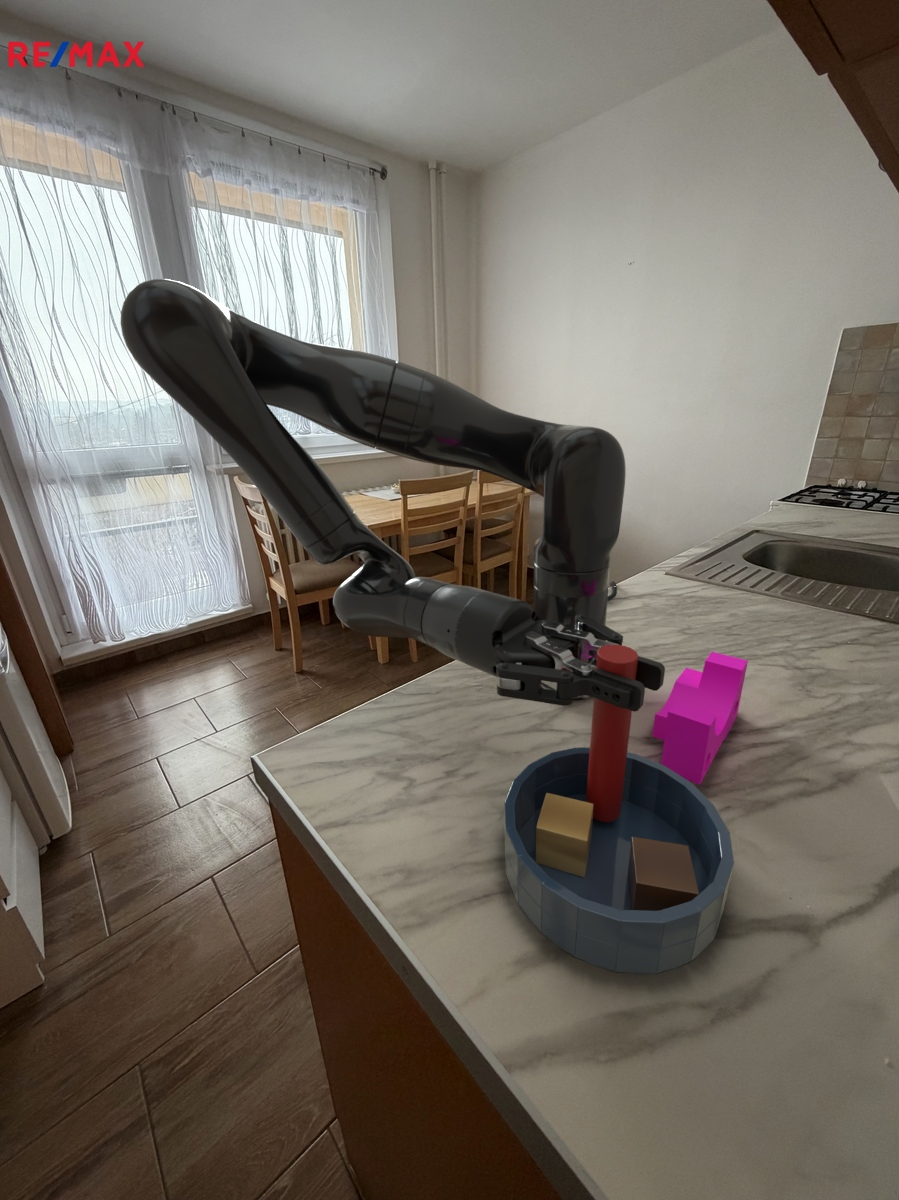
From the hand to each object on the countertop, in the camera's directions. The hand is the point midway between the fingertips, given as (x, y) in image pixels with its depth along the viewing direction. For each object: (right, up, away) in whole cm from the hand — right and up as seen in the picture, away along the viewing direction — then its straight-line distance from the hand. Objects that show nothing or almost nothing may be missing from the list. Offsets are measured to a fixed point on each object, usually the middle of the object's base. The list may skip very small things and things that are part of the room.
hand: (651, 687), depth 36 cm
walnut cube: (+1, -16, 0) cm, 16 cm away
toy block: (+12, -9, +18) cm, 23 cm away
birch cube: (-5, -15, +5) cm, 16 cm away
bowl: (-2, -16, +4) cm, 16 cm away
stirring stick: (-1, -12, +7) cm, 14 cm away
